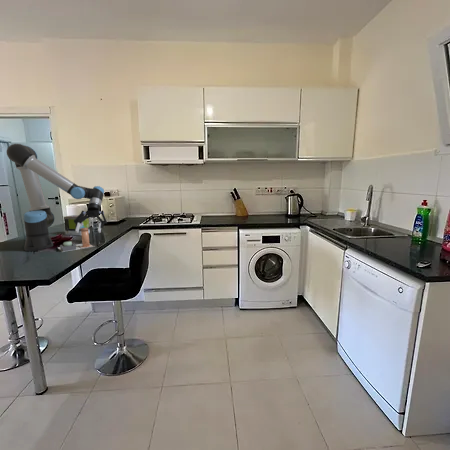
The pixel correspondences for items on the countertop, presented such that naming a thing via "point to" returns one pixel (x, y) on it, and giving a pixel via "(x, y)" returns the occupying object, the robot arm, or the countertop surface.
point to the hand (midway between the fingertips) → (87, 232)
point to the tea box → (71, 225)
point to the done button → (67, 244)
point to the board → (79, 247)
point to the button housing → (68, 247)
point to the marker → (85, 237)
